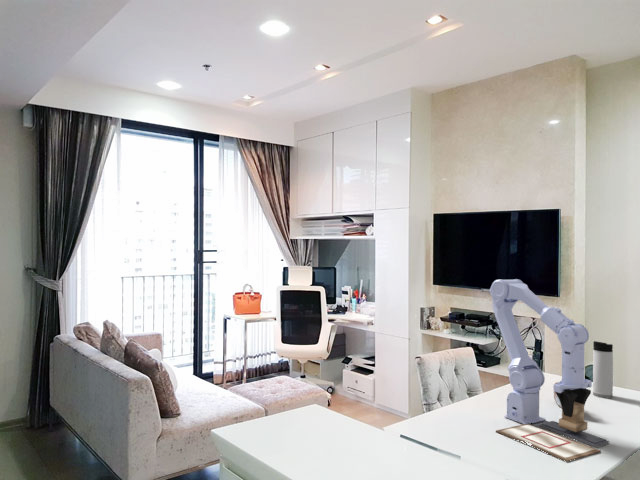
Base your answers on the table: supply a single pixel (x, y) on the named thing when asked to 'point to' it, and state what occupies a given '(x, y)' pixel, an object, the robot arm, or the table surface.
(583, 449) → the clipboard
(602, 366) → the travel mug
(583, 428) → the stamp
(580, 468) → the table surface
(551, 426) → the ink pad
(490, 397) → the table surface
